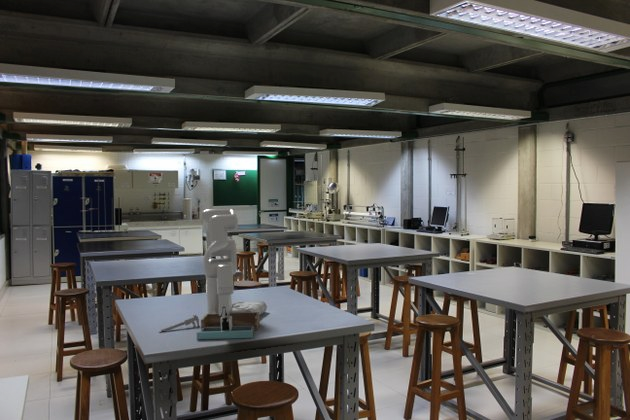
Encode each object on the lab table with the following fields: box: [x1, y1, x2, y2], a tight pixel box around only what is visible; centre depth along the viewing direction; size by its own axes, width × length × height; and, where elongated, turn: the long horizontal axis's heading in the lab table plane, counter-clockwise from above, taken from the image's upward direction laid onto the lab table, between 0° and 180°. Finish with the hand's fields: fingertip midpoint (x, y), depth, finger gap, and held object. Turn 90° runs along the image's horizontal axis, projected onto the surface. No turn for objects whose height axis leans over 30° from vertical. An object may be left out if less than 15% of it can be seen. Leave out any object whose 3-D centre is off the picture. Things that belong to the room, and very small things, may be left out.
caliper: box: [158, 313, 200, 333], centre depth 249 cm, size 20×1×6 cm, turn 124°
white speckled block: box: [220, 316, 233, 331], centre depth 235 cm, size 5×5×6 cm
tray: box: [196, 325, 255, 340], centre depth 235 cm, size 12×26×3 cm, turn 91°
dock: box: [200, 312, 261, 331], centre depth 248 cm, size 12×27×6 cm, turn 91°
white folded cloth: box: [231, 300, 268, 317], centre depth 273 cm, size 19×28×8 cm
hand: (226, 328), depth 235 cm, fingers closed on white speckled block, 4 cm apart
